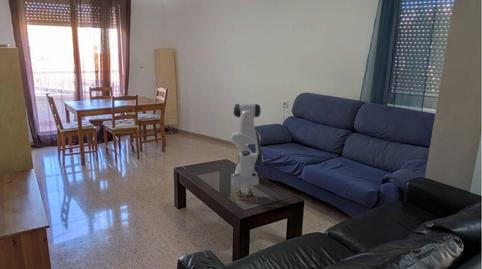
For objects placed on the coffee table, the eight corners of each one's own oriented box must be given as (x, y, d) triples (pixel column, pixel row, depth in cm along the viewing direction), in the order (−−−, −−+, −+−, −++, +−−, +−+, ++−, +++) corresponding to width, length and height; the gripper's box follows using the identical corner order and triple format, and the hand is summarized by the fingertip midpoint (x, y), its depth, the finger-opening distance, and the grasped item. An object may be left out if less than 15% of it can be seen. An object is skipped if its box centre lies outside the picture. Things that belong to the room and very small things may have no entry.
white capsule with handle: (240, 192, 255) (240, 184, 254) (247, 192, 256) (247, 183, 255) (242, 198, 245) (242, 189, 244) (250, 197, 246) (250, 188, 245)
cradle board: (232, 192, 258) (232, 188, 258) (253, 191, 261) (253, 187, 261) (237, 204, 237) (237, 200, 237) (259, 203, 240) (259, 199, 239)
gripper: (231, 175, 243) (231, 193, 246) (259, 173, 246) (259, 191, 249) (230, 172, 249) (230, 190, 252) (257, 171, 252) (257, 188, 255)
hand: (245, 190), depth 251 cm, fingers open, 8 cm apart
